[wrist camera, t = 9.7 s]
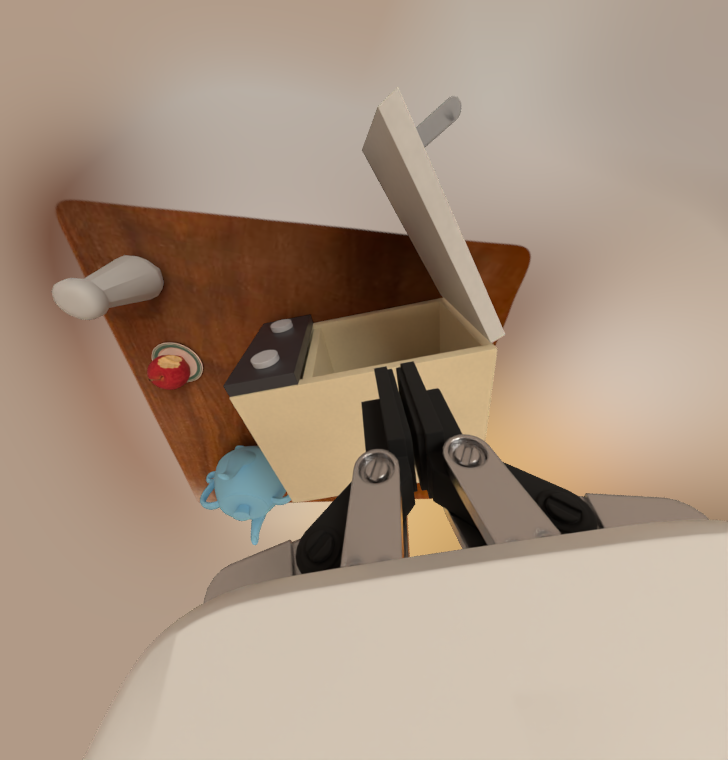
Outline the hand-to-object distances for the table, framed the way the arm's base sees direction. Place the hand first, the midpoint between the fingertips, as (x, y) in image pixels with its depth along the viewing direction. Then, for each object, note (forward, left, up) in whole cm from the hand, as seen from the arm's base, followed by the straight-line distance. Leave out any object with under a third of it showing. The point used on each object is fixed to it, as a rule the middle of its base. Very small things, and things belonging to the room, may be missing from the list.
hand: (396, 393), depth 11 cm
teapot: (+49, -7, -33) cm, 60 cm away
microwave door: (-8, +7, -33) cm, 35 cm away
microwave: (+17, +7, -33) cm, 38 cm away
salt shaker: (+13, -28, -33) cm, 45 cm away
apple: (+27, -24, -33) cm, 49 cm away
